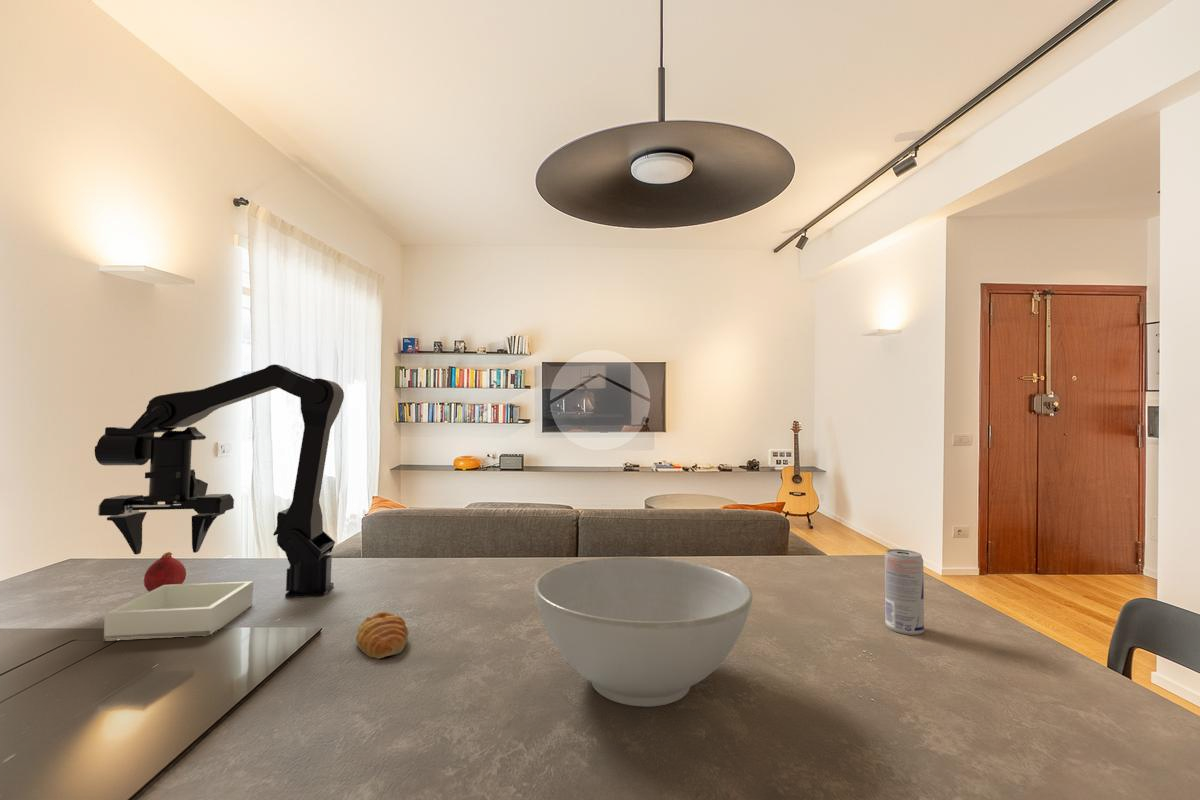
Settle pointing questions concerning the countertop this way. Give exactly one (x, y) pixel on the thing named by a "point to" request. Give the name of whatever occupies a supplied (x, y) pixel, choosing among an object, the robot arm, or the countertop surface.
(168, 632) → the bin
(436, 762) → the countertop surface
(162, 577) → the onion
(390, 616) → the pastry
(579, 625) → the decorative bowl
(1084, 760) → the countertop surface
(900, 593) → the energy drink
